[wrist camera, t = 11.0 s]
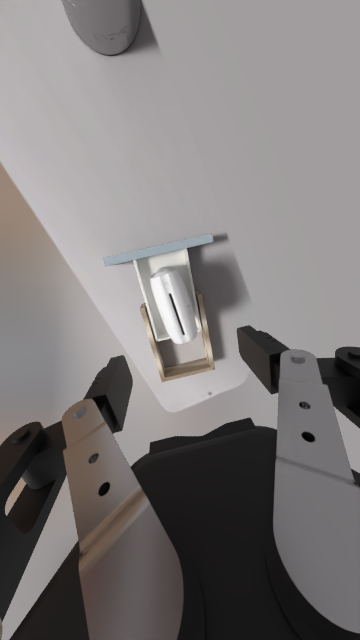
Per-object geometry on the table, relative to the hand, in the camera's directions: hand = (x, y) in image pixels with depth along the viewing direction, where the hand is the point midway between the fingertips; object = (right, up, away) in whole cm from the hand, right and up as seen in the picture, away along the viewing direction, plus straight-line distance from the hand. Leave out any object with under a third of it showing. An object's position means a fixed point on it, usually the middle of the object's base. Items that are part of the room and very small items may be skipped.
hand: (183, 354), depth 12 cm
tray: (-2, +7, +23) cm, 24 cm away
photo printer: (-2, +7, +22) cm, 23 cm away
